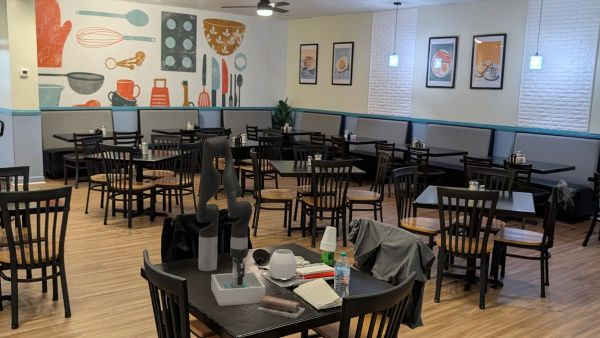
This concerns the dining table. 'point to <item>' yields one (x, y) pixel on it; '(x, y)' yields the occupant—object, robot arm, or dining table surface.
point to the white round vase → (282, 264)
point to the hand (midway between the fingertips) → (237, 281)
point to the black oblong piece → (261, 256)
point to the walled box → (237, 289)
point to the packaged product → (280, 307)
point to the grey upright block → (235, 279)
